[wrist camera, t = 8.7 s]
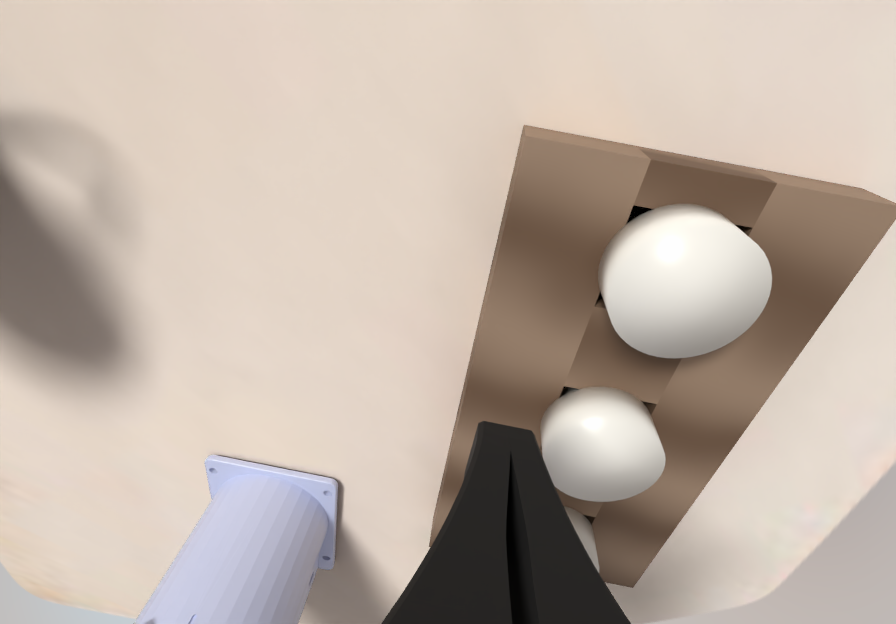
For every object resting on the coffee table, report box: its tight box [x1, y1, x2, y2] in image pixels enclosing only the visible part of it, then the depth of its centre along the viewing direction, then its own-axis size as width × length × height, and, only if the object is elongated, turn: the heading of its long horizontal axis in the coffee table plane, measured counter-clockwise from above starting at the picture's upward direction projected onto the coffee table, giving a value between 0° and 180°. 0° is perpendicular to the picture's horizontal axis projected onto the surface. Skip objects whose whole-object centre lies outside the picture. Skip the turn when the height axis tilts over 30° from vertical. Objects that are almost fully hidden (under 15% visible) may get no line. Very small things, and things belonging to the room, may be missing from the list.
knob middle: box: [540, 387, 666, 502], centre depth 20 cm, size 5×5×4 cm
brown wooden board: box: [429, 125, 896, 588], centre depth 21 cm, size 23×12×2 cm, turn 171°
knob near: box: [598, 204, 772, 358], centre depth 16 cm, size 5×5×4 cm
